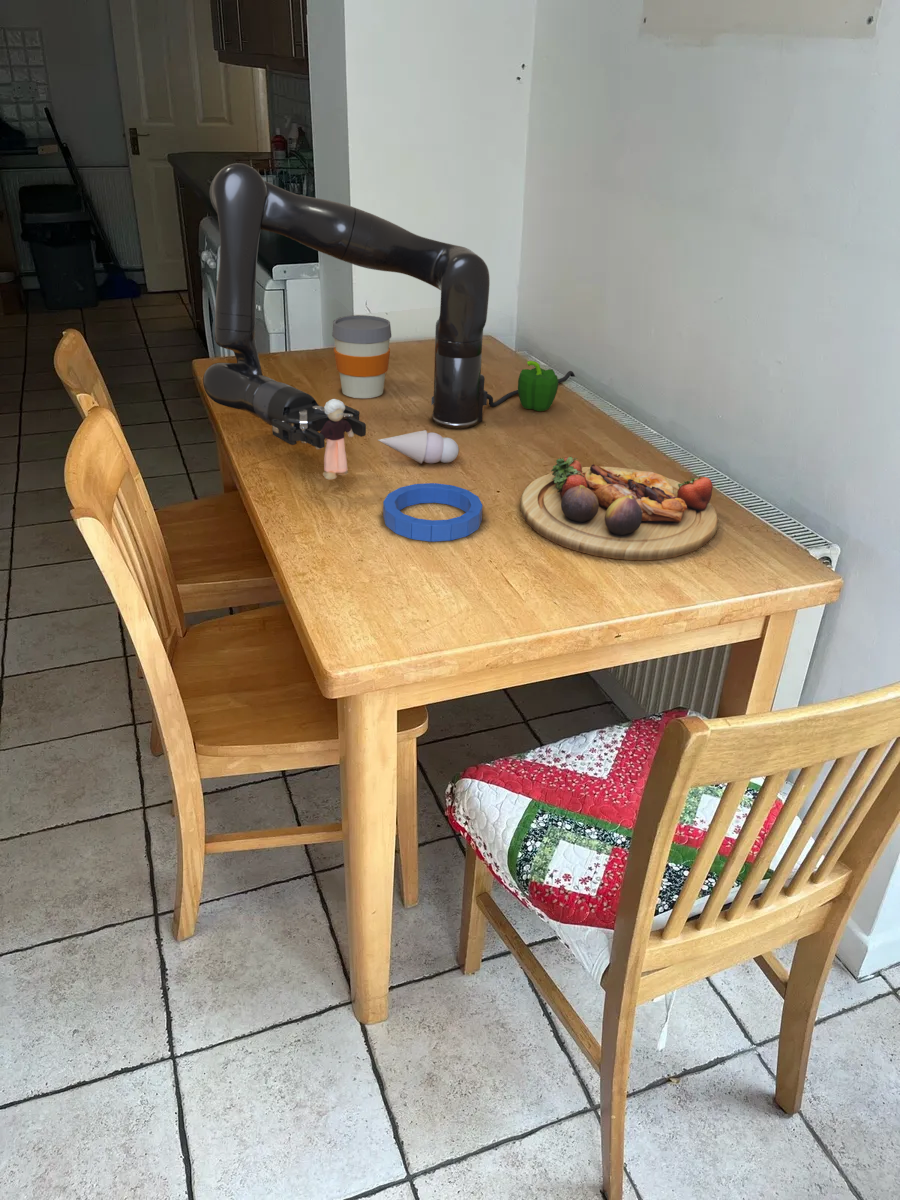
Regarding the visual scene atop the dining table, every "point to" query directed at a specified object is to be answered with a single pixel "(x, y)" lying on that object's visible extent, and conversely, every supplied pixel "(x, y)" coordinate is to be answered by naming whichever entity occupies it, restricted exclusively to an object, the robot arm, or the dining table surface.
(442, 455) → the ice cream cone
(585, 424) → the dining table surface
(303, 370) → the dining table surface
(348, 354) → the reusable coffee cup
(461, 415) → the robot arm
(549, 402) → the bell pepper
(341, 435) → the grandmother figurine
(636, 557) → the wooden plate
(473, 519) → the tape ring
